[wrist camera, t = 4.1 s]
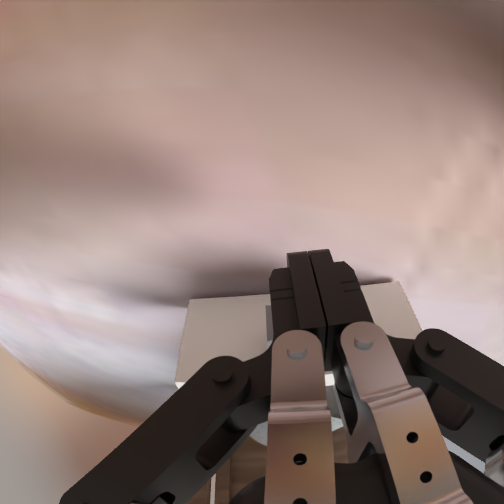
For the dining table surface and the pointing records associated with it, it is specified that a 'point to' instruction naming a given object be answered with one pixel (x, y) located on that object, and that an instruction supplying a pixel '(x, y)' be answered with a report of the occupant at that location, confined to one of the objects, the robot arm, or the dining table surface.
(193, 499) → the brown wooden small table
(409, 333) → the pull-out front
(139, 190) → the dining table surface
